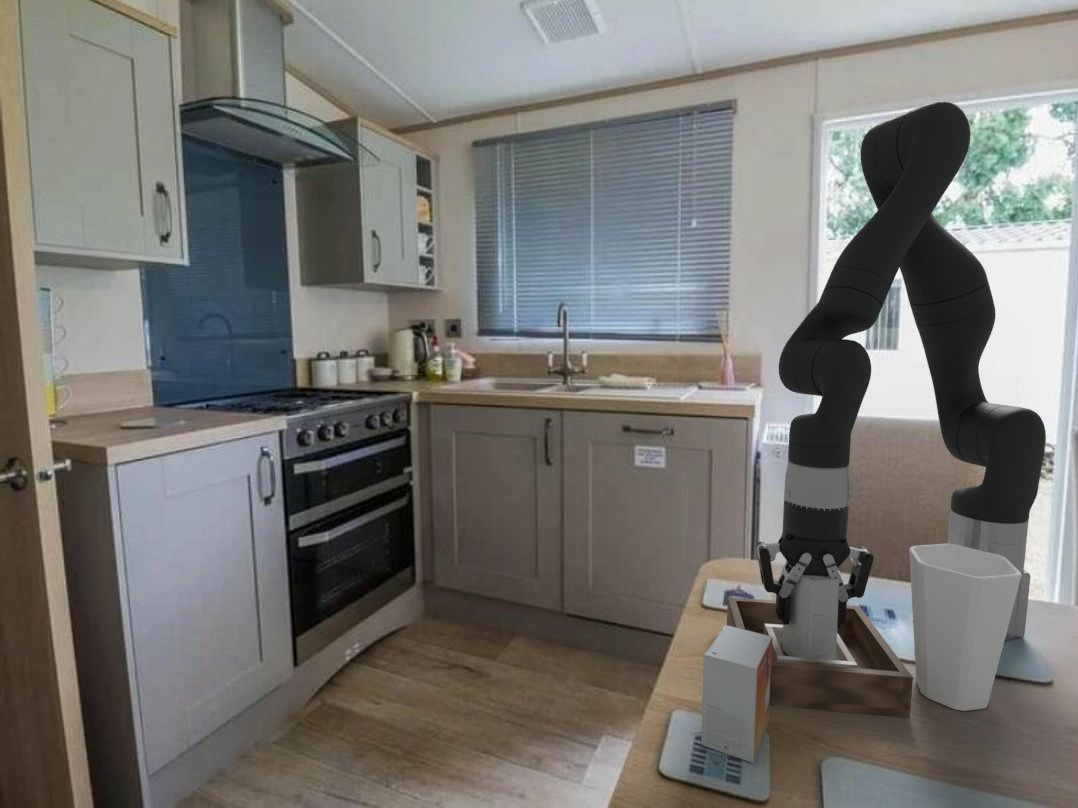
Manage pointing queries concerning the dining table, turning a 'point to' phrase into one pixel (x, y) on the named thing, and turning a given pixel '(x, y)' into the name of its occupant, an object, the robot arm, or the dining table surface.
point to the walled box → (831, 665)
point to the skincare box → (812, 618)
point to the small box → (736, 692)
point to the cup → (959, 621)
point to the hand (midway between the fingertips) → (809, 623)
